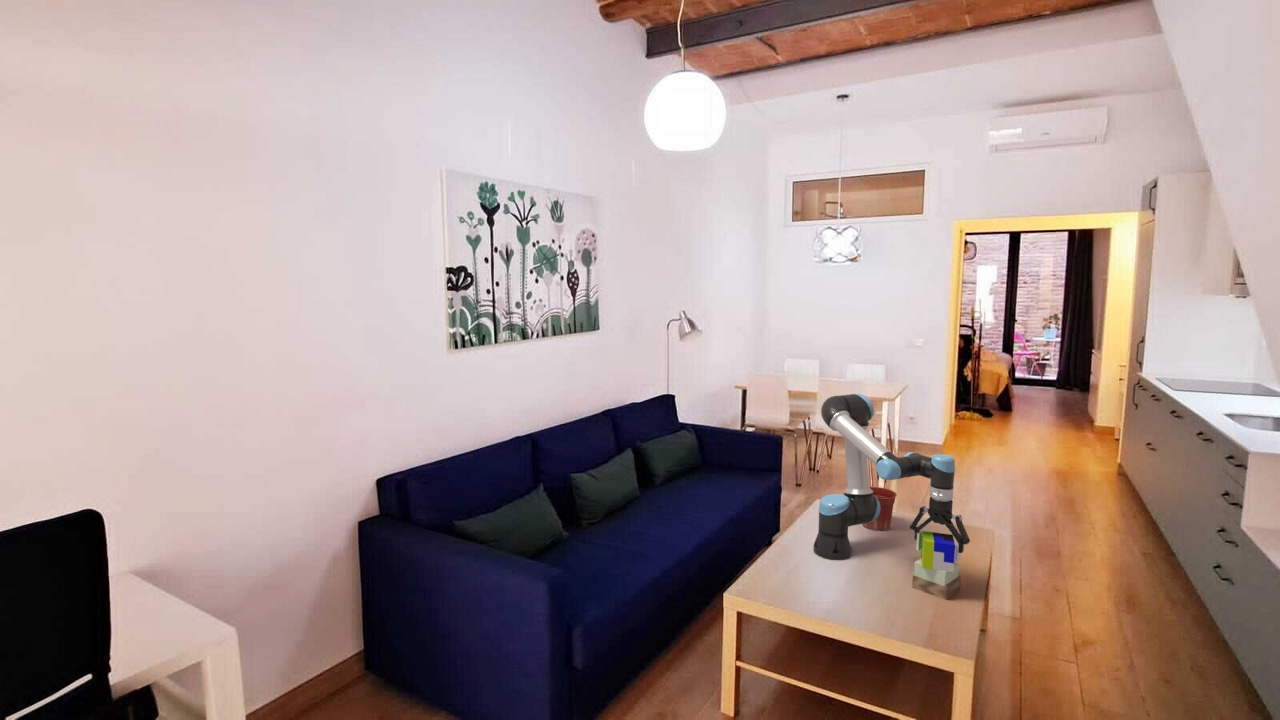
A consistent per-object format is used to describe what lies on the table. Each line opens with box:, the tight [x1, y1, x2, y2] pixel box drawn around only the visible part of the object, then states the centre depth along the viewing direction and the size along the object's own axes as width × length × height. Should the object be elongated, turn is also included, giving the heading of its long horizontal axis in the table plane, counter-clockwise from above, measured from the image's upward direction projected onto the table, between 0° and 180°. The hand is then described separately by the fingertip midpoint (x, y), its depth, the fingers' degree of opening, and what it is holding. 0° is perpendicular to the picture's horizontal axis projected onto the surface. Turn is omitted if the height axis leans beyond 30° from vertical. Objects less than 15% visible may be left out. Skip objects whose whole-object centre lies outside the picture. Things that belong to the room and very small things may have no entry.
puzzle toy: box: [920, 530, 956, 572], centre depth 228 cm, size 10×10×10 cm
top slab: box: [913, 558, 960, 586], centre depth 230 cm, size 11×11×5 cm
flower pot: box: [862, 486, 898, 532], centre depth 289 cm, size 16×16×16 cm
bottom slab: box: [911, 574, 961, 601], centre depth 230 cm, size 12×12×5 cm
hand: (937, 554), depth 229 cm, fingers open, 13 cm apart
